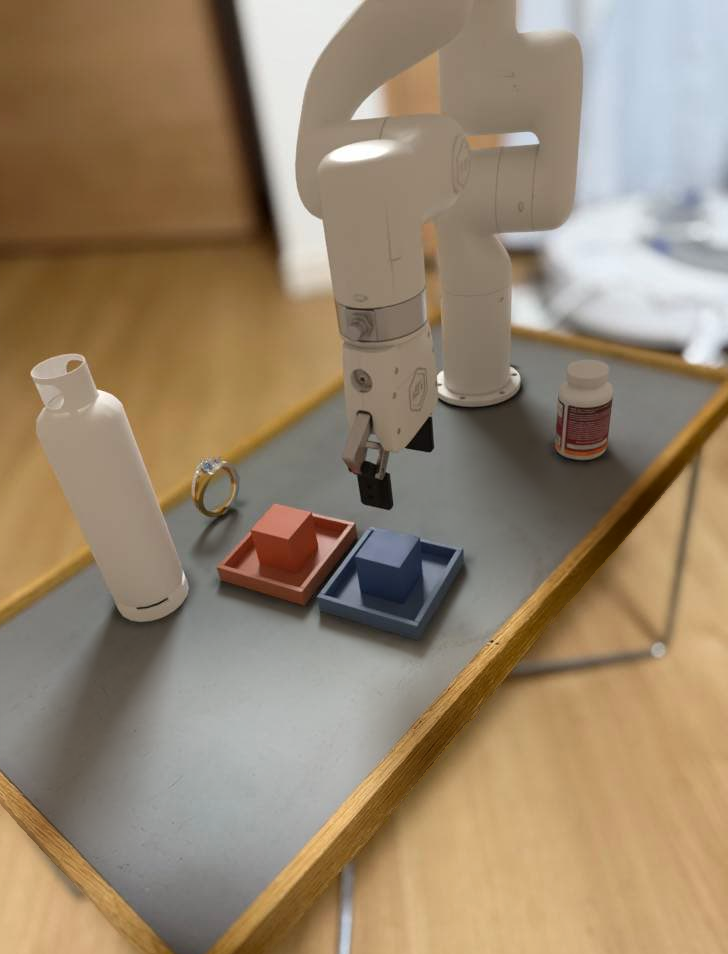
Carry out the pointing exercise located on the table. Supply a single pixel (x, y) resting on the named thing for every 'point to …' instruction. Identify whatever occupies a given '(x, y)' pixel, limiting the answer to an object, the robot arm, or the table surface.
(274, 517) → the terracotta block
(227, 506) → the ring
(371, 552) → the blue block
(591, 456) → the pill bottle
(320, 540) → the terracotta tray
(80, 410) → the bottle
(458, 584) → the table surface
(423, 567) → the blue tray
